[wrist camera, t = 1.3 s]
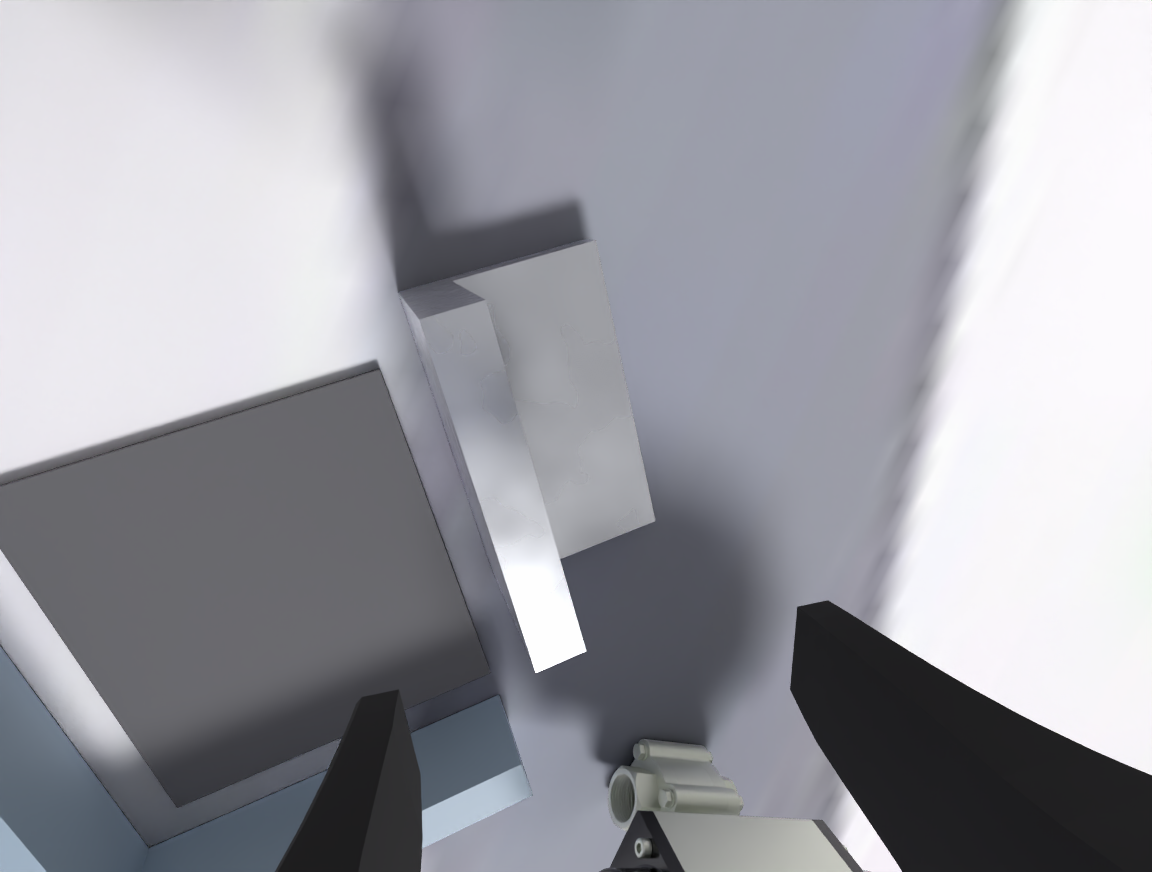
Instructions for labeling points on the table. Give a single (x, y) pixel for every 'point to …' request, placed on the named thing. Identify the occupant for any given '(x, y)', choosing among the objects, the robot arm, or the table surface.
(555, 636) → the angle bracket
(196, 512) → the pad
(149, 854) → the corner walls
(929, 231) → the table surface
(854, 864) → the pneumatic valve
